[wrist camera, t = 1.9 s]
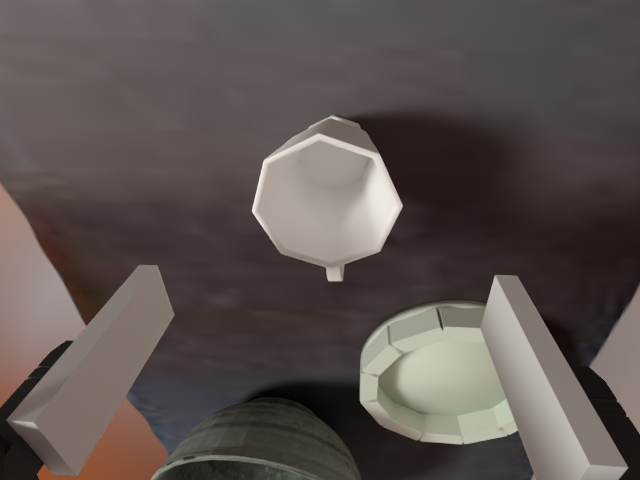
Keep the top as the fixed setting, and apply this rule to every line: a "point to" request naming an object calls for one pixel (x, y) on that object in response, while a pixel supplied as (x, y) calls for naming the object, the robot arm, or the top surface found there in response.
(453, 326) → the tray
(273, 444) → the bowl
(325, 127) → the cup
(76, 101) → the top surface
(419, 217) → the top surface
